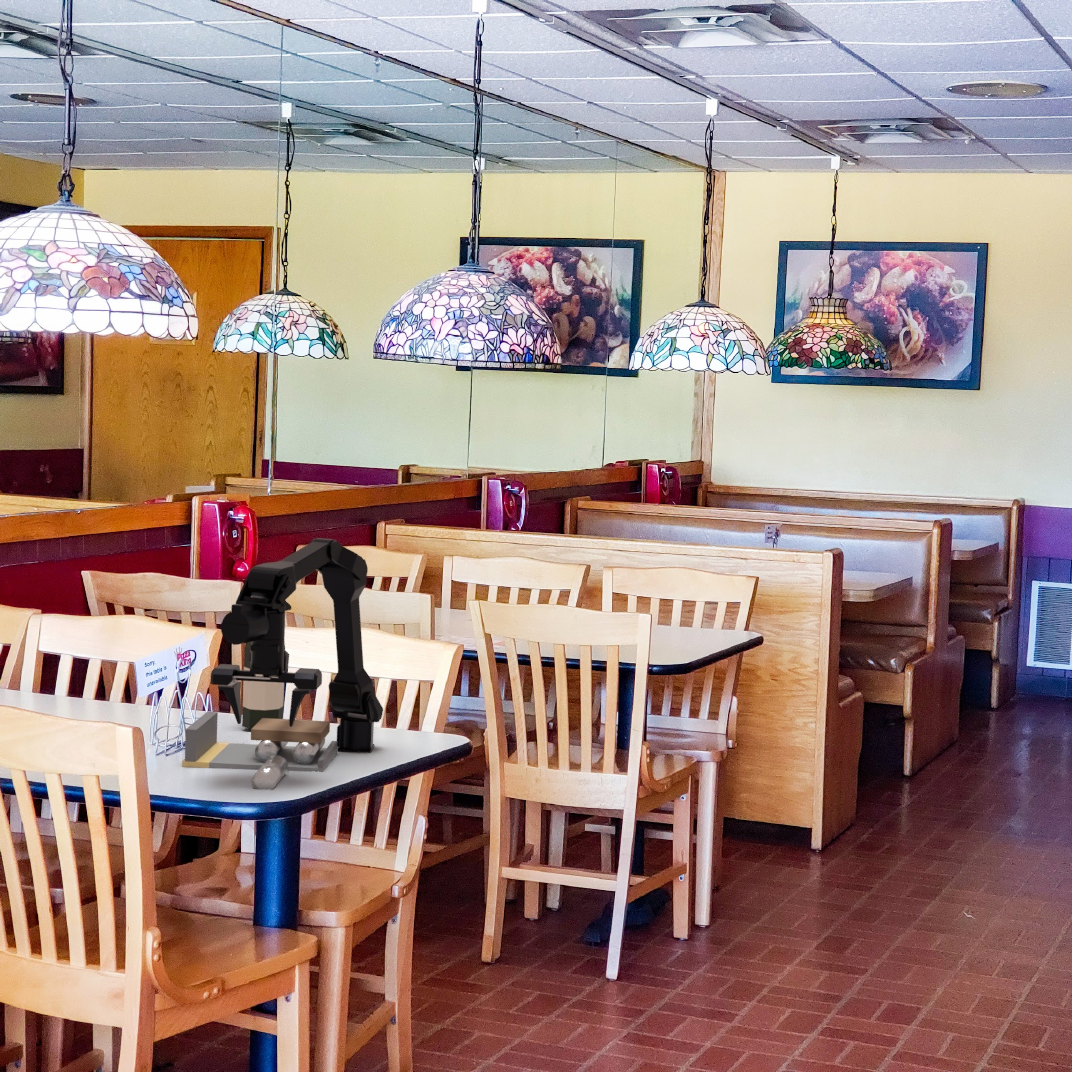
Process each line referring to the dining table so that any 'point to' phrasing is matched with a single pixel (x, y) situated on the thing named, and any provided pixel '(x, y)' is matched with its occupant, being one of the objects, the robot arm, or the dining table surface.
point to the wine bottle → (260, 697)
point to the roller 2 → (270, 773)
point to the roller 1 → (268, 749)
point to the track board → (238, 750)
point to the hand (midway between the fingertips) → (265, 724)
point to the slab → (290, 730)
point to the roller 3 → (306, 752)
